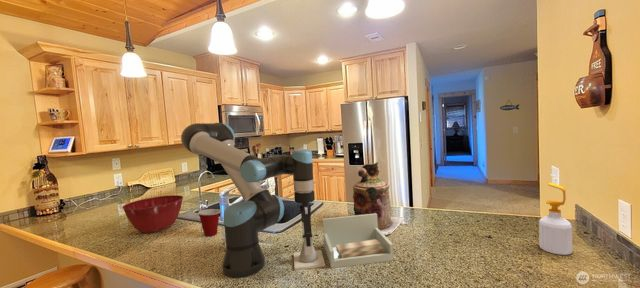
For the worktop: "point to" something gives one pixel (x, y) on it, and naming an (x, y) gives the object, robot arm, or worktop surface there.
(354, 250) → the light brown wooden block
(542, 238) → the soap bottle
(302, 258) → the flask
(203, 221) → the plastic cup
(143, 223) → the mixing bowl
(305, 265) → the mat
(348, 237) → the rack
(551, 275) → the worktop surface
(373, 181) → the cookie jar
